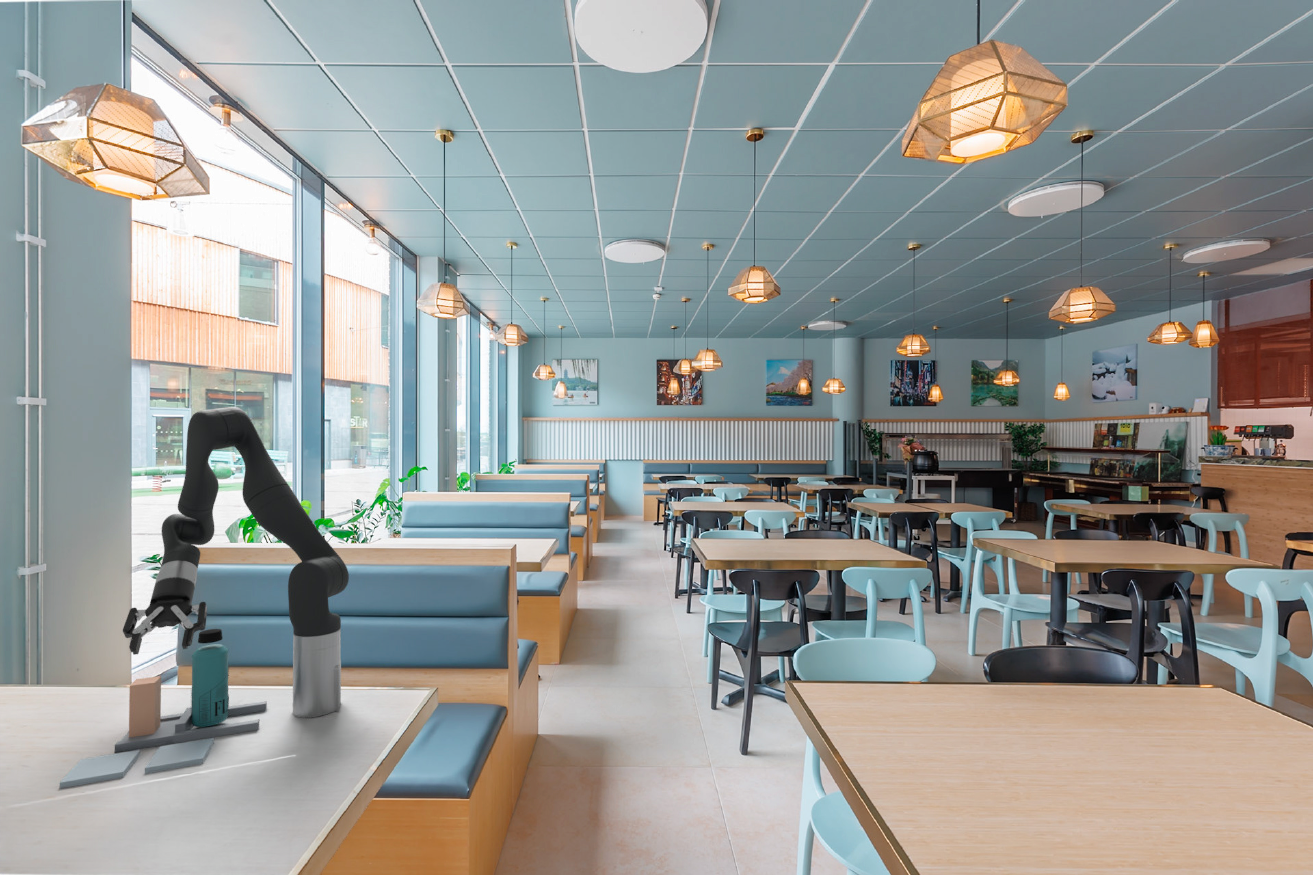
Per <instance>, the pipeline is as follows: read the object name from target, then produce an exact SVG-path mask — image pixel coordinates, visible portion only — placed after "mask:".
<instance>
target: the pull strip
mask: <svg viewBox="0 0 1313 875" xmlns="http://www.w3.org/2000/svg"><path fill="white" fill-rule="evenodd" d="M161 692H162V675H161V676H160V675H159V676H152V677H151V676H150V677H143V678H136V679H135V680H133V682H132V683H131V684H130V685H129V697H128V698H129V701H128V702H129V704H128V705H129V708H128V709H129V710H128V716H129V717H128V731H127V733H125V735H124V736H123V737H122V738H121V740H118V741H116V742H115V744H114V754H117V753H123V752H129V751H135V750H143V749H147V748H152V747H153V748H154V747H160V746H166V745H173V744H179V743H185V742H191V741H197V740H204V739H210V738H216V737H223V736H229V735H233V734H234V735H235V734H240V733H246V732H254V731H258V730H260V729H259V728H260V719H254V720H246V721H241V722H234V723H227V724H220V725H213V726H206V727H200V728H195V729H192V728H193V727H194V726H193V725H192V722H191V711H192V706H190V707H187V708H186V709H185V710H184V712H181V713H177V714H176V713H175V714H168V715H162V713H161V710H162V707H161V706H162V703H161V702H162V696H161V695H162V694H161ZM267 706H268V704H267V700H266V701H265V700H263V701H258V702H251V703H244V704H243V703H242V704H237V705H229V706H228V716H227V717H231V716H239V715H240V716H241V715H246V714H253V713H259V712H266V711H267V708H268V707H267Z"/></svg>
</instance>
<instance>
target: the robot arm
mask: <svg viewBox="0 0 1313 875" xmlns="http://www.w3.org/2000/svg"><path fill="white" fill-rule="evenodd" d="M186 435H187V436H186V452H185V453H186V454H185V472H184V473H185V474H184V480H183V485H182V489H181V493H180V496H179V499H178V502H177V510H178V512H179V513H173V514H170V515H169V516H167V517H166V518H165V519H164V520H163V522H162V524H161V525H162V526H161V537H162V542H163V549H164V550H163V558H162V561H161V566H160V569H159V572H157V576H156V579H155V582H154V586H153V589H152V594H151V599H150V602H149V605H148V607H147V608H146V609H138V608H137V607H131V608H130V609H129V612H128V614H127V617H126V619H125V622H124V626H123V628H122V633H123V635H124V637H125V638H126V639H129V638H131V639H130V643H129V651H130V653H132V654H133V655H139V653H140V648H141V646H142V642H143V637H145V636H146V634H148V633H151V632H152V631H153V630H154V629H156V628H157V629H158V628H159V629H161V628H166V627H176V626H177V625H180V626H181V627H182V628H183V630H184V633H183V636H182V641H181V647H182V649H183V650H187V649H188V648H189V647H191V646H192V644H193V640H194V634H195V633H196V632H198V631H200V632H201V631H204V630H206V626H207V625H206V624H207V615H208V607H207V603H206V601H201V602H200V603H199V604H194V605H192V603H193V599H194V594H195V590H196V586H197V578H198V569H199V564H200V561H201V560H200V558H201V550H200V549H199V547H197V546H203V545H206V544H207V543H209V542H210V541H211V540H212V539H213V537H214V534H215V522H214V516H213V515H214V514H213V511H214V507H215V503H216V500H217V499H216V498H217V496H218V493H219V488H220V487H219V479H218V478H217V476H216V474H215V472H214V471H213V469H212V468H211V466H210V464H209V459H210V457H211V454H212V452H213V451H216V450H222V449H227V448H233V447H234V448H235V449H236V450H237V451H238V453H239V455H240V457H241V458H242V460H243V462H244V476H243V482H242V499H243V502H244V504H245V506H246V507H247V509H248V510H249V512H250V514H251V515H252V516H253V518H254V519H255V521H256V522H257V524H258V525H259V526H260V527H261V528H263V530H265V531H266V532H267V533H269V534H270V535H272V536H273V537H274V538H277V539H278V540H279V541H280V542H282V543H284V544H286V545H287V546H288V547H289V548H290V549H292V551H293V552H295V554H296V555H297V556H298V558H299V560H300V561H301V562H298V563H297V564H296V565H295V566H293V568H292V570H291V571H290V574H289V577H288V581H287V582H288V584H287V597H288V616H289V621H290V623H291V625H292V628H293V629H292V630H293V640H292V652H293V653H292V665H293V666H292V715H293V716H294V717H297V718H306V719H307V718H315V717H321V716H324V715H328V714H330V713H334V712H337V711H341V710H340V708H341V701H342V700H341V698H342V697H341V695H342V693H341V691H342V688H341V687H342V686H341V684H342V682H341V681H342V680H341V679H342V678H341V677H342V676H341V675H342V659H341V640H342V639H341V635H342V634H341V630H342V628H341V627H342V626H341V624H342V620H341V616H340V615H339V614H337V613H333V612H331V611H330V608H329V598H331V597H333V596H336V595H338V594H340V593H342V592H343V591H345V589H346V588H347V586H348V584H349V578H350V576H349V571H348V570H349V569H348V567H347V565H346V564H345V562H344V560H343V559H342V558H341V556H340V555H339V554H338V552H336V550H335V549H334V548H333V547H332V546H331V545H330V543H329V542H328V540H327V539H326V538H325V537H324V536H323V535H322V533H321V532H320V531H319V530H318V528H317V526H316V525H315V523H314V521H313V520H312V519H311V518H310V516H309V515H308V513H307V512H306V509H304V507H303V505H302V504H301V502H300V501H299V498H298V497H297V495H296V494H295V492H294V491H293V490H292V488H291V487H290V485H289V483H288V482H287V481H286V479H285V478H284V477H283V476H282V473H281V472H280V471H279V469H278V467H277V466H276V465H275V462H274V461H273V460H272V458H271V456H270V455H269V453H268V451H267V449H266V447H265V445H264V443H263V441H262V439H261V437H260V435H259V433H258V432H257V430H256V427H255V425H254V423H253V421H252V419H251V418H250V416H249V415H248V414H247V412H246V411H244V410H243V409H242V408H240V407H238V406H226V407H217V408H209V409H204V410H200V411H199V410H198V411H197V412H194V413H193V414H192V415H191V417H190V419H189V422H188V427H187V434H186ZM193 612H194V613H195V615H197V622H195V623H193V622H191V620H190V619H189V618H188V616H190V615H191V614H192V613H193ZM144 616H146V618H144V620H142V621H141V619H142V618H143V617H144ZM140 621H141V622H140ZM138 622H140V624H139V625H138V626H137V623H138Z"/></svg>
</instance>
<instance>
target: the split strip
mask: <svg viewBox="0 0 1313 875" xmlns="http://www.w3.org/2000/svg"><path fill="white" fill-rule="evenodd" d="M214 744H215V737H211V738H204V739H198V740H192V741H186V742H179V743H173V744H167V745H161V746H158V748H157V750H156V751H155V753H154V754H153V756H152V757H151V759H150V760H149V762H148V763H147V764H146V765H145V767H144V774H151V773H155V772H156V773H157V772H162V771H166V770H174V769H179V768H184V767H190V766H196V765H201V764H204V762H205V761H206V759H207V757H208V755H209V754H210V751H211V749H212V747H213V746H214ZM140 756H141V749H136V750H130V751H123V752H117V753H111V754H105V755H100V756H93V757H85V758H81V759H80V760H79V761H78V762H77V763H76V765H75V766H74V767H73V768H72V769H71V770H70V771H69V772H68V773H67V774H65V776H64V777H63V778H62V779H61V780H60V782H59V789H64V788H68V787H76V786H81V785H87V784H92V783H98V782H104V781H109V780H115V779H116V780H117V779H120V778H121V779H123V778H124V777H125V776H126V774H127V773H129V771H130V769H131V768H132V767H133V766H134V764H135V762H136V761H137V760H138V758H139V757H140Z"/></svg>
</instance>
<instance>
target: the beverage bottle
mask: <svg viewBox="0 0 1313 875" xmlns="http://www.w3.org/2000/svg"><path fill="white" fill-rule="evenodd" d="M219 641H223V631H222V629H220V628H212V629H211V628H210V629H204V630H202V631H201V630H200V631H199V632H198V640H197V643H198V644H206V645H203V646H200V647H198V648H197V649H196V650H195V651H193V653H192V654H191V695H190V697H191V707H192V711H191V722H192V725H193V727H195V728H206V727H212V726H216V725H218V724H220V723H222V722H225V721H226V720H228V717H229V716H228V707H229V706H230V702H229V701H230V700H229V699H230V695H229V676H230V675H229V674H230V673H229V648H228V647H226V646H225V645H223V644H220V643H219V644H218V643H216V642H219ZM211 643H215V644H211ZM207 644H208V645H207Z"/></svg>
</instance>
